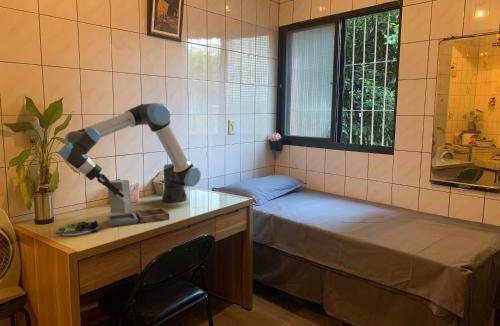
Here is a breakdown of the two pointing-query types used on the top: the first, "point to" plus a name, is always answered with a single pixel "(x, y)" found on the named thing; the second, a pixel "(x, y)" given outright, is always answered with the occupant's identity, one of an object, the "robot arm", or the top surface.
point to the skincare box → (117, 203)
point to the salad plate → (79, 229)
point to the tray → (122, 220)
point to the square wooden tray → (152, 215)
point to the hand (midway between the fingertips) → (126, 198)
